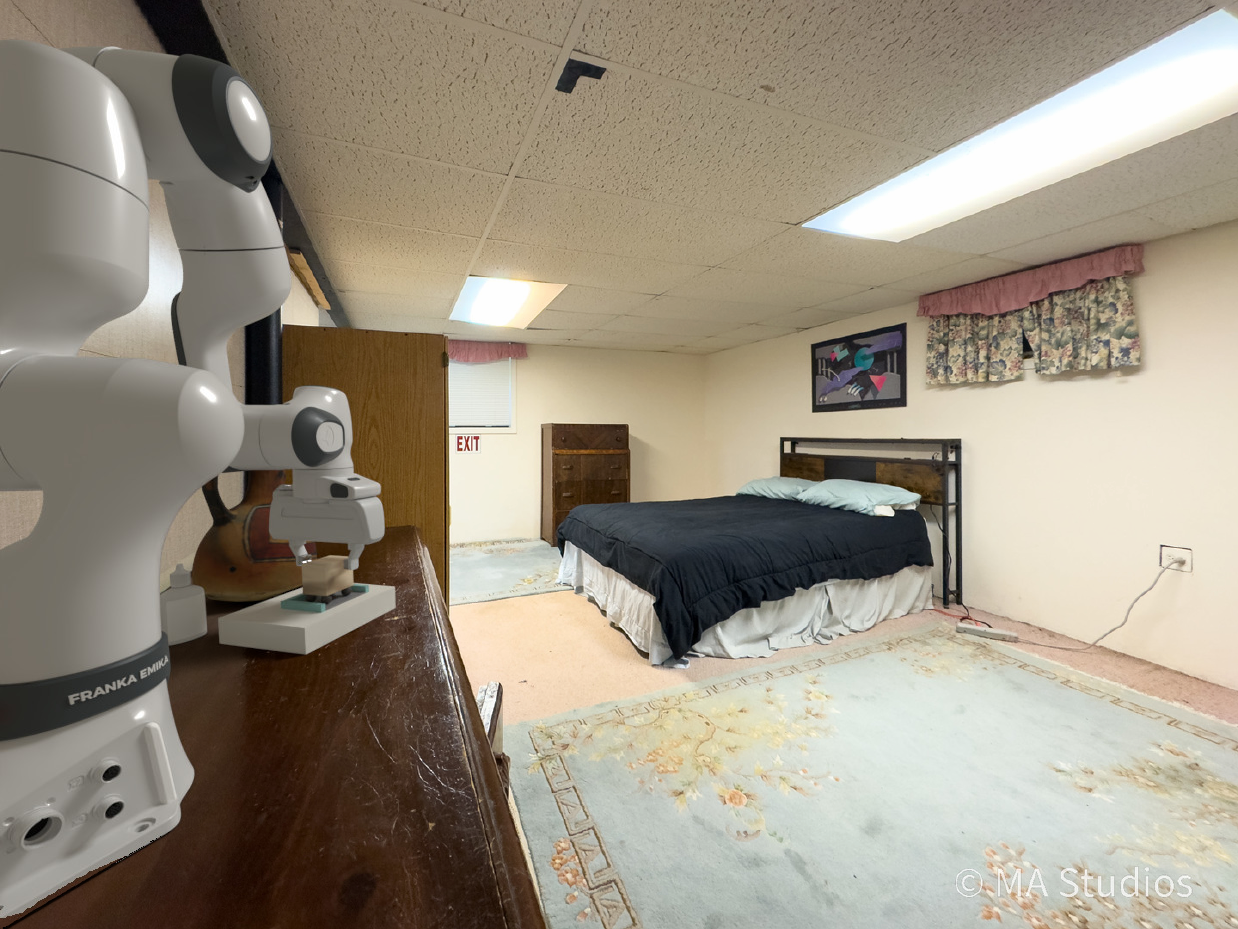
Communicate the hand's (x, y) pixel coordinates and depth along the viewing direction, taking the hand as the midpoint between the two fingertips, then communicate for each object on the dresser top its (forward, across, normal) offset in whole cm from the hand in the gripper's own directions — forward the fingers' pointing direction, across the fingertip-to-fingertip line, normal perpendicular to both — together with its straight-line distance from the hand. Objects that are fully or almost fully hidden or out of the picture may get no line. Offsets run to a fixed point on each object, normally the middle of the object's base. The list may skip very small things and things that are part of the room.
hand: (327, 567), depth 86 cm
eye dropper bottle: (+10, -17, -11) cm, 23 cm away
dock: (+10, -2, -1) cm, 10 cm away
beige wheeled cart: (+6, 0, 0) cm, 6 cm away
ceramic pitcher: (+10, -25, +9) cm, 29 cm away
